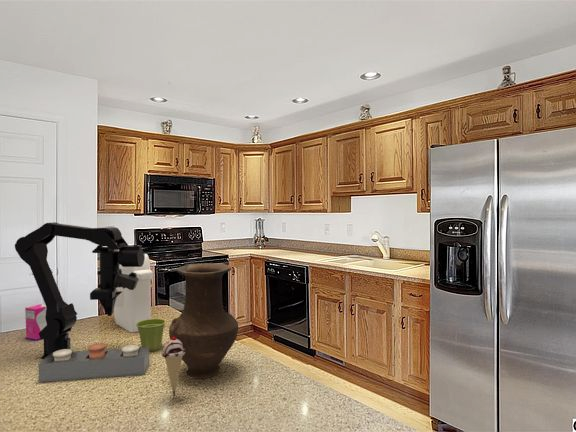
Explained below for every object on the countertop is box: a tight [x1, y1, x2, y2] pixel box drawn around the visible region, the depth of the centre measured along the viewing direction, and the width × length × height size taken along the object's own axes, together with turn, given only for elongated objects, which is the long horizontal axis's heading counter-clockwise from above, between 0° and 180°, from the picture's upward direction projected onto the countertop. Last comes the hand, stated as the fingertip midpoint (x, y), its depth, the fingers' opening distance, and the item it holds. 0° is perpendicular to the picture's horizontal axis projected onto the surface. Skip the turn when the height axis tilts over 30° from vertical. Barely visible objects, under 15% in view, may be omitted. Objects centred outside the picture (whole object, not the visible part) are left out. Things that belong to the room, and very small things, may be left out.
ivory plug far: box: [121, 344, 140, 356], centre depth 111 cm, size 5×5×6 cm
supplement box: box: [24, 303, 47, 342], centre depth 140 cm, size 6×6×12 cm
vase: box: [168, 263, 239, 379], centre depth 110 cm, size 19×19×30 cm
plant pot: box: [136, 318, 167, 352], centre depth 129 cm, size 9×9×9 cm
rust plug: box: [87, 342, 107, 358], centre depth 110 cm, size 5×5×6 cm
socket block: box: [37, 346, 150, 383], centre depth 110 cm, size 27×8×5 cm, turn 100°
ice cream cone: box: [161, 337, 186, 397], centre depth 95 cm, size 6×6×15 cm
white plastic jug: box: [113, 253, 154, 333], centre depth 153 cm, size 27×11×30 cm, turn 43°
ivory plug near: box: [53, 348, 73, 361], centre depth 108 cm, size 5×5×6 cm
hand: (109, 315), depth 123 cm, fingers closed
